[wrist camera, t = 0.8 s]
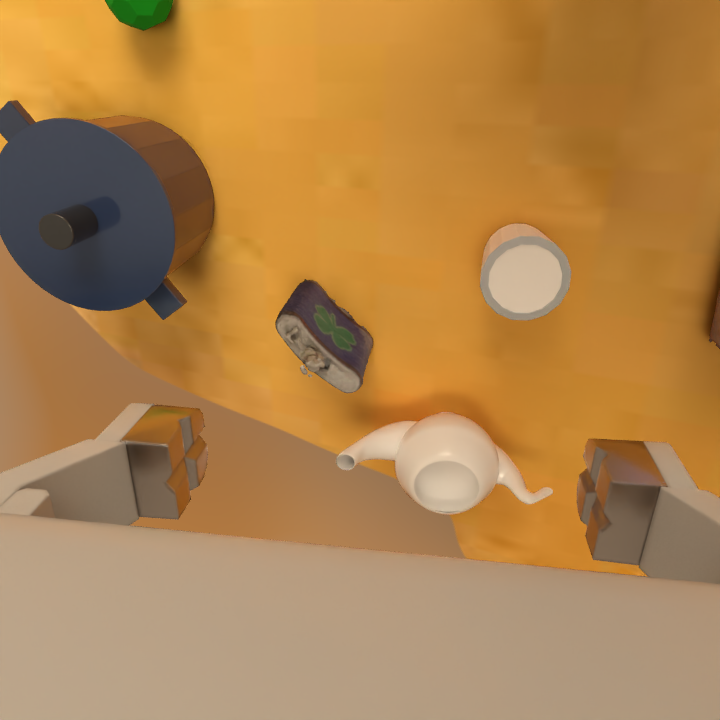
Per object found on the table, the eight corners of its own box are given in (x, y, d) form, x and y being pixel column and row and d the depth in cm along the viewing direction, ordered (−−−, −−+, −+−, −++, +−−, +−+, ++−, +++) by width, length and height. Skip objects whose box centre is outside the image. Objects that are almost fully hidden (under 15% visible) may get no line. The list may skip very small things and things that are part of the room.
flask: (379, 340, 58) (364, 394, 48) (357, 358, 59) (339, 414, 49) (309, 272, 56) (280, 314, 46) (289, 293, 57) (256, 338, 47)
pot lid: (82, 72, 42) (43, 72, 38) (218, 242, 46) (196, 259, 42) (-36, 194, 47) (-82, 205, 43) (96, 337, 51) (65, 360, 47)
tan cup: (467, 283, 54) (469, 311, 48) (488, 208, 51) (493, 227, 45) (542, 299, 54) (554, 329, 48) (567, 225, 51) (584, 246, 44)
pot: (118, 52, 50) (50, 48, 41) (263, 240, 55) (229, 271, 46) (19, 152, 54) (-60, 167, 46) (161, 316, 60) (114, 357, 51)
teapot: (527, 490, 63) (540, 554, 54) (342, 445, 63) (326, 501, 55) (559, 414, 59) (577, 471, 50) (360, 367, 59) (345, 415, 51)
